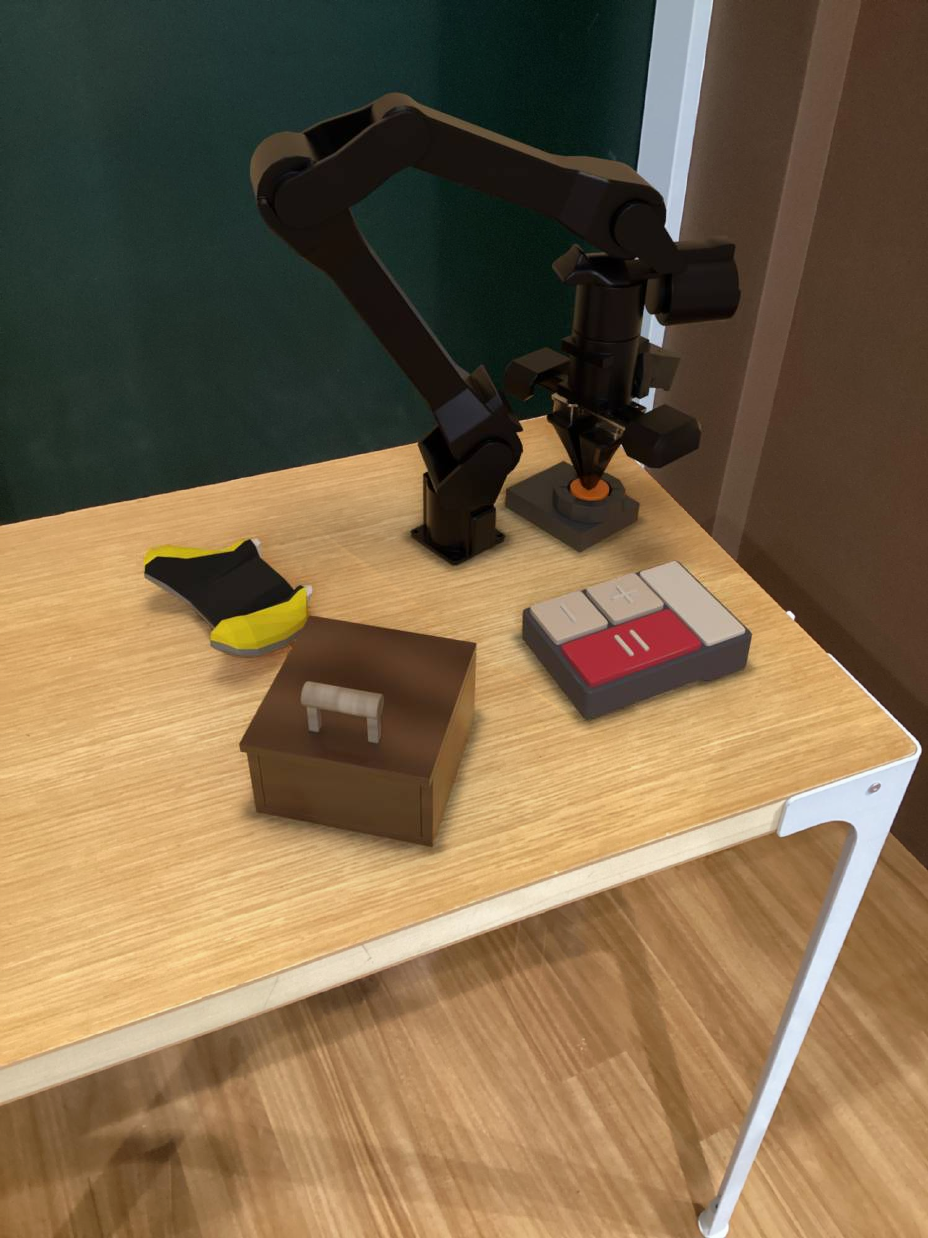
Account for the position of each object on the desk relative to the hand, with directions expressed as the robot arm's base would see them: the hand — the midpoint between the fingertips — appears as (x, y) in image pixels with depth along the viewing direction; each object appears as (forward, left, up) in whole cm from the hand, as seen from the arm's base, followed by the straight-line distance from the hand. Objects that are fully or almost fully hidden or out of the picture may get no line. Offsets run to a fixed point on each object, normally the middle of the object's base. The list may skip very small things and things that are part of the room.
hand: (589, 487), depth 99 cm
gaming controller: (-9, -33, -4) cm, 34 cm away
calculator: (+15, -11, -4) cm, 19 cm away
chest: (+11, -34, -4) cm, 36 cm away
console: (-2, 0, -4) cm, 5 cm away
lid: (+11, -35, +3) cm, 37 cm away
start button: (0, 0, -2) cm, 2 cm away
